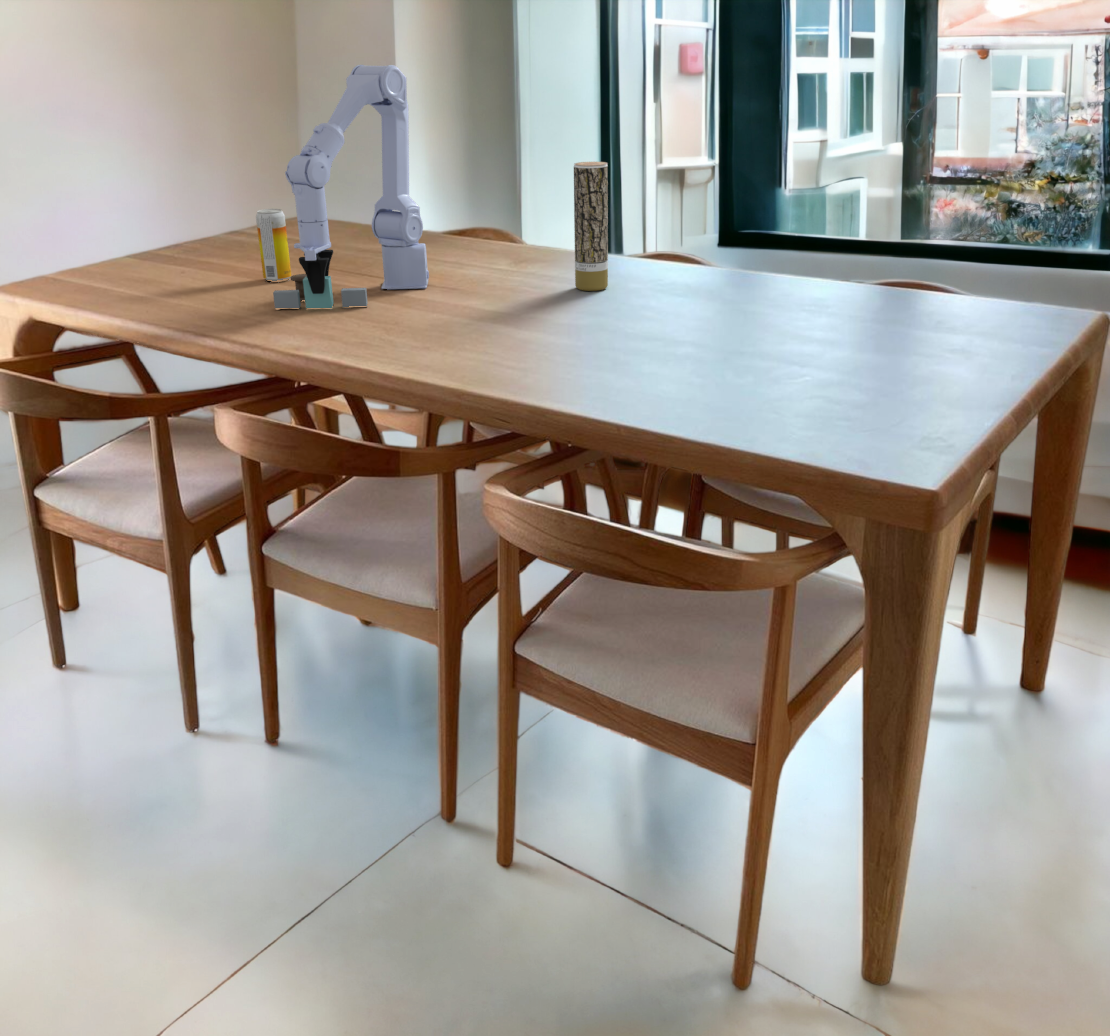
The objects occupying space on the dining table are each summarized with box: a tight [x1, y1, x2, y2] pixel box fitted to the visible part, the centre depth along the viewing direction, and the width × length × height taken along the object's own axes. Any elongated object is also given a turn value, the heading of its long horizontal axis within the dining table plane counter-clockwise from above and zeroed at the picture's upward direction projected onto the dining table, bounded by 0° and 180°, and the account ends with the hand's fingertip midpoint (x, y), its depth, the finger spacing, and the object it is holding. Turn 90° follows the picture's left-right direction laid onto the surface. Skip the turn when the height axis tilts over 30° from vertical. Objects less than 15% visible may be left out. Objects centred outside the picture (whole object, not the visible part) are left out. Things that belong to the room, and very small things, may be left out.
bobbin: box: [289, 273, 307, 301], centre depth 234 cm, size 7×7×4 cm
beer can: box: [255, 208, 292, 281], centre depth 249 cm, size 6×6×15 cm
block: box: [303, 275, 335, 309], centre depth 225 cm, size 5×3×6 cm, turn 92°
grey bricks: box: [272, 287, 369, 309], centre depth 226 cm, size 18×2×4 cm, turn 93°
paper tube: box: [573, 161, 609, 292], centre depth 233 cm, size 7×7×25 cm
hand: (319, 290), depth 225 cm, fingers open, 4 cm apart
